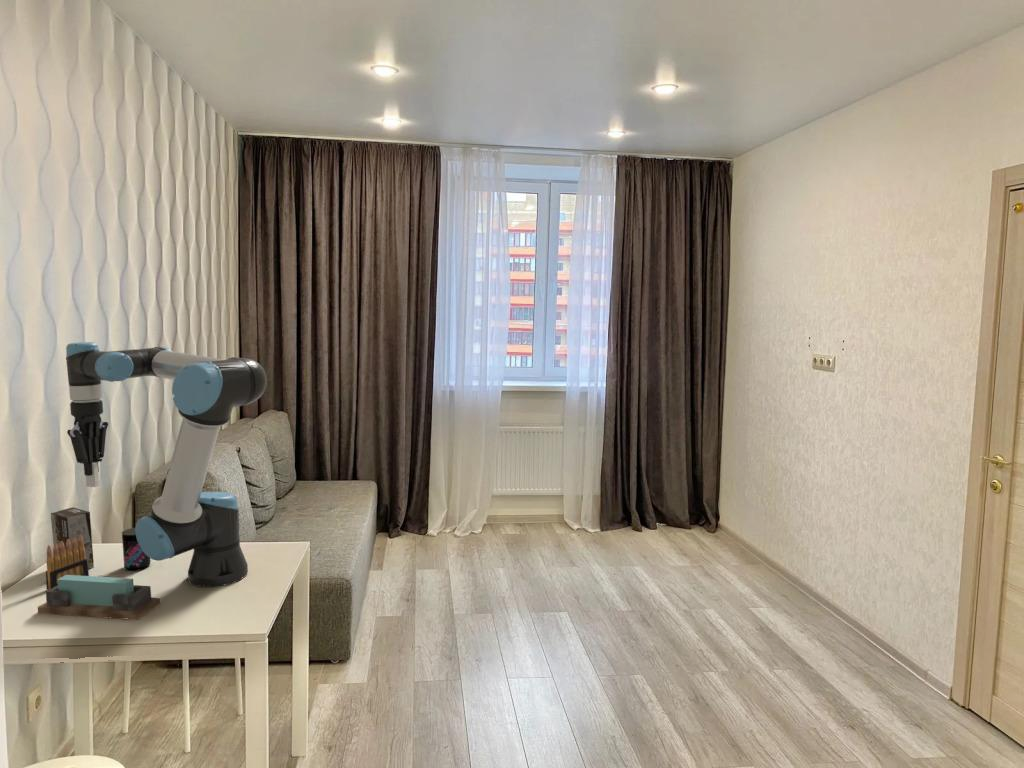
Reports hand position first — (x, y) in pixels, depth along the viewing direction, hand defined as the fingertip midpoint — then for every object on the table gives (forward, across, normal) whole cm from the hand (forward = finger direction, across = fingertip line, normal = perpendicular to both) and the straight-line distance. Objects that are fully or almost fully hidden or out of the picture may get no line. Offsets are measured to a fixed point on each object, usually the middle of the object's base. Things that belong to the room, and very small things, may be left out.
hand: (92, 486), depth 200 cm
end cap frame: (+24, +21, +16) cm, 36 cm away
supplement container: (+25, -5, +8) cm, 26 cm away
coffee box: (+25, -2, -9) cm, 26 cm away
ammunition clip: (+25, +8, -3) cm, 26 cm away
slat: (+23, +21, +15) cm, 35 cm away
